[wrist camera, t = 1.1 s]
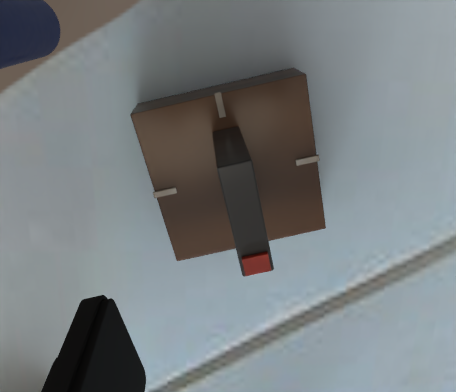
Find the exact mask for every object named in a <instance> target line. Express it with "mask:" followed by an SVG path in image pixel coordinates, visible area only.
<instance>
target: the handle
mask: <svg viewBox="0 0 456 392" xmlns="http://www.w3.org/2000/svg"><path fill="white" fill-rule="evenodd" d="M212 136H213V143H214V151H215V158H216V166H217V171H218V176H219V180H220V184H221V188H222V192H223V196H224V200H225V205H226V209H227V213H228V217H229V221H230V225H231V229H232V234H233V238H234V242H235V246H236V250H237V254H238V259H239V263H240V267H241V271H242V275H243V276H249V275H254V274H258V273H263V272H267V271H272V270H273V269H274V267H273V262H272V257H271V252H270V247H269V242H268V237H267V232H266V227H265V222H264V217H263V212H262V207H261V202H260V197H259V192H258V187H257V182H256V177H255V172H254V167H253V162H252V159H251V156H250V154H249V151H248V148H247V146H246V143H245V141H244V138H243V135H242V133H241V130H240V128H239V127H238V126H237V127H233V128H228V129H224V130H220V131H215V132H213V133H212Z"/></svg>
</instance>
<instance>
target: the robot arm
mask: <svg viewBox="0 0 456 392" xmlns="http://www.w3.org/2000/svg"><path fill="white" fill-rule="evenodd" d="M145 385H146V375H145V370H144V367H143V365H142V363H141V361H140V358H139V356H138V354H137V351H136V349H135V347H134V345H133V342H132V340H131V338H130V335H129V333H128V331H127V329H126V326H125V324H124V322H123V320H122V317H121V315H120V313H119V310H118V308H117V306H116V304H115V302H114V300H113V299H107V297H106V296H104V295H101V296H96V297H92V298H88V299H84V300H82V301H81V303H80V305H79V307H78V310H77V312H76V314H75V317H74V319H73V322H72V324H71V326H70V329H69V331H68V333H67V336H66V338H65V341H64V343H63V345H62V348H61V350H60V353H59V355H58V357H57V358H56V359H55V361H54V363H53V365H52V367H51V369H50V372H49V374H48V377H47V379H46V381H45V384H44V386H43V388H42V391H41V392H144V391H145Z"/></svg>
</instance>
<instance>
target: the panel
mask: <svg viewBox="0 0 456 392" xmlns="http://www.w3.org/2000/svg"><path fill="white" fill-rule="evenodd" d="M131 118H132V121H133V124H134V127H135V130H136V134H137V137H138V140H139V143H140V146H141V149H142V153H143V156H144V159H145V162H146V165H147V168H148V171H149V175H150V178H151V181H152V184H153V187H154V190H155V192H153V195H154V198H157V200H158V203H159V206H160V209H161V212H162V216H163V219H164V222H165V225H166V228H167V231H168V234H169V238H170V241H171V244H172V247H173V250H174V253H175V256H176V260H177V261H181V260H185V259H190V258H194V257H199V256H203V255H208V254H212V253H217V252H221V251H226V250H230V249H235V248H236V246H235V242H234V238H233V234H232V229H231V225H230V221H229V217H228V213H227V209H226V205H225V200H224V196H223V192H222V188H221V184H220V180H219V176H218V171H217V166H216V158H215V151H214V143H213V136H212V133H213V132H215V131H220V130H224V129H228V128H233V127H237V126H238V127H239V128H240V130H241V133H242V135H243V138H244V141H245V143H246V146H247V148H248V151H249V154H250V156H251V159H252V162H253V167H254V172H255V177H256V182H257V187H258V192H259V197H260V202H261V207H262V212H263V217H264V222H265V227H266V232H267V237H268V241H271V240H275V239H280V238H284V237H289V236H293V235H298V234H302V233H307V232H311V231H316V230H320V229H325V228H326V226H325V218H324V210H323V203H322V195H321V187H320V179H319V172H318V164H317V161H319V155H316V148H315V141H314V133H313V125H312V117H311V110H310V102H309V94H308V86H307V79H306V74H305V73H303V72H301V71H299V70H298V69H296V68H289V69H285V70H281V71H276V72H272V73H268V74H264V75H259V76H255V77H251V78H246V79H242V80H238V81H233V82H229V83H225V84H220V85H216V86H212V87H207V88H203V89H199V90H194V91H190V92H186V93H181V94H177V95H173V96H169V97H164V98H160V99H156V100H151V101H147V102H143V103H138V104H137V105H136V107H135V108H134V110H133V111H132V113H131Z"/></svg>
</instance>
